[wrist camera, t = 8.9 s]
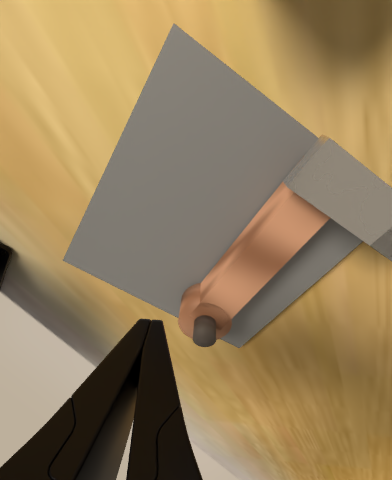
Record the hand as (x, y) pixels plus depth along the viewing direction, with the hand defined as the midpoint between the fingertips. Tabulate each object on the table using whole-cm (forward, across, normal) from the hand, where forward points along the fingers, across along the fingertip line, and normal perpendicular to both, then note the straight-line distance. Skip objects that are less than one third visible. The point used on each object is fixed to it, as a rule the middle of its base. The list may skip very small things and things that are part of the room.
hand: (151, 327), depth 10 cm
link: (+11, -6, +3) cm, 13 cm away
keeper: (+12, -10, -3) cm, 16 cm away
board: (+12, -3, +2) cm, 13 cm away
